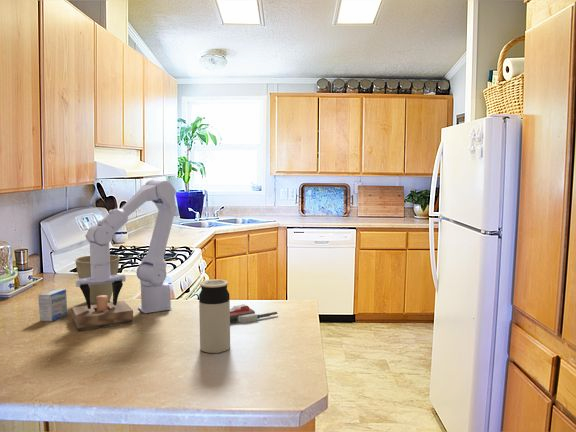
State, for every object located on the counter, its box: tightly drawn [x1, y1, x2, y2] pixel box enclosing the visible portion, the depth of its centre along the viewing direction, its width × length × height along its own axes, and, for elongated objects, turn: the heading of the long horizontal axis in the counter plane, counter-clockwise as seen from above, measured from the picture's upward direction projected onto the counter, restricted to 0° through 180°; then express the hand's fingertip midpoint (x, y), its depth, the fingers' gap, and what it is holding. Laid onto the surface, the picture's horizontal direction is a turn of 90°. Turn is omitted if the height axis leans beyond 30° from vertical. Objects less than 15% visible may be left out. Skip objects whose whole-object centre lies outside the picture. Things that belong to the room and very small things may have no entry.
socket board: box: [71, 300, 134, 332], centre depth 154 cm, size 16×13×4 cm
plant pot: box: [74, 254, 120, 305], centre depth 176 cm, size 15×15×16 cm
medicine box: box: [38, 288, 68, 323], centre depth 157 cm, size 8×4×9 cm, turn 168°
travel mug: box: [198, 278, 231, 354], centre depth 130 cm, size 8×8×18 cm
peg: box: [96, 295, 109, 312], centre depth 154 cm, size 3×3×7 cm
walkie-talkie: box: [230, 303, 278, 324], centre depth 157 cm, size 9×4×20 cm
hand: (102, 306), depth 154 cm, fingers open, 7 cm apart
